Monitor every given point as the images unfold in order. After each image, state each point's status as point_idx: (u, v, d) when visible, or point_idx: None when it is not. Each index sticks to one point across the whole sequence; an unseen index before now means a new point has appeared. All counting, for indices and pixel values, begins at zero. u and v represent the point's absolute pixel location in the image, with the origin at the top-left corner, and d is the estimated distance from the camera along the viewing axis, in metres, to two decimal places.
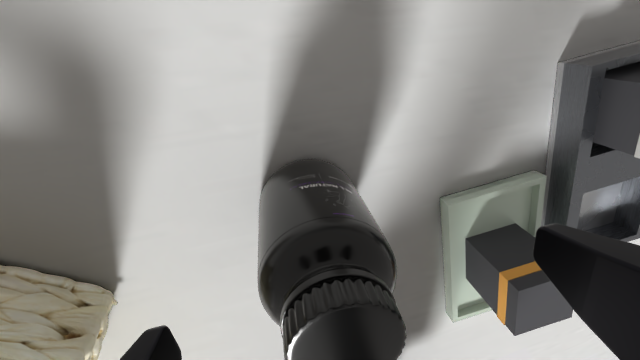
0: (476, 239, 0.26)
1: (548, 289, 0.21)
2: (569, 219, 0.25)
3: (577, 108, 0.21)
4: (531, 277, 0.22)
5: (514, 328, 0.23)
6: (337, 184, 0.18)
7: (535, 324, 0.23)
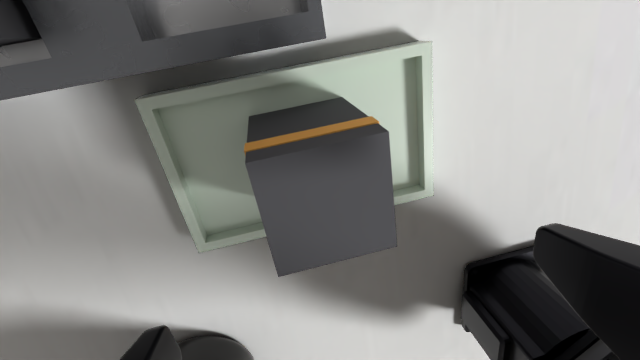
0: None
1: (285, 220, 0.11)
2: (208, 55, 0.12)
3: None
4: None
5: (378, 249, 0.12)
6: None
7: (380, 213, 0.11)
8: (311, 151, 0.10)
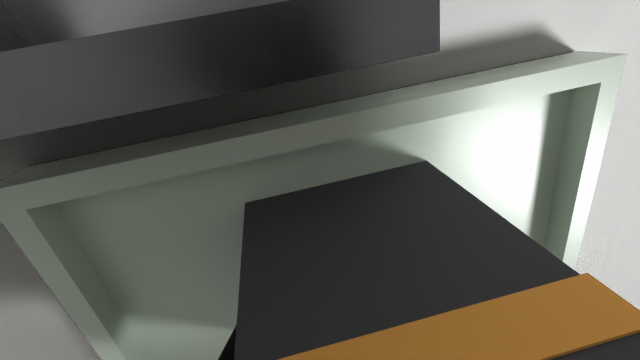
0: None
1: None
2: (131, 99, 0.04)
3: None
4: None
5: None
6: None
7: None
8: None
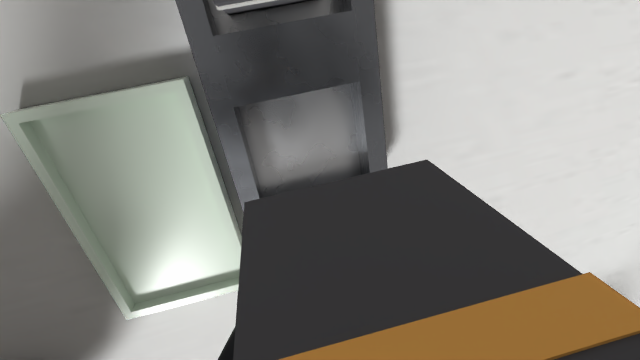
0: None
1: None
2: (228, 153, 0.15)
3: None
4: None
5: None
6: None
7: None
8: None
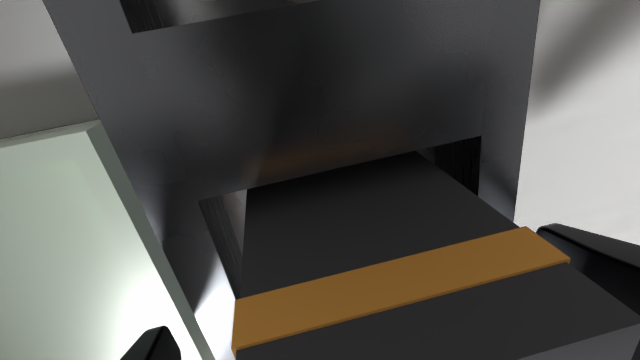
0: None
1: None
2: (190, 289, 0.07)
3: None
4: None
5: None
6: None
7: None
8: None
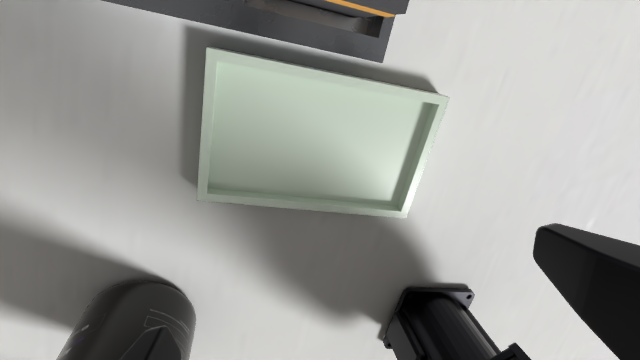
0: (343, 13, 0.15)
1: None
2: (290, 38, 0.14)
3: None
4: (357, 3, 0.11)
5: None
6: (62, 352, 0.17)
7: None
8: None
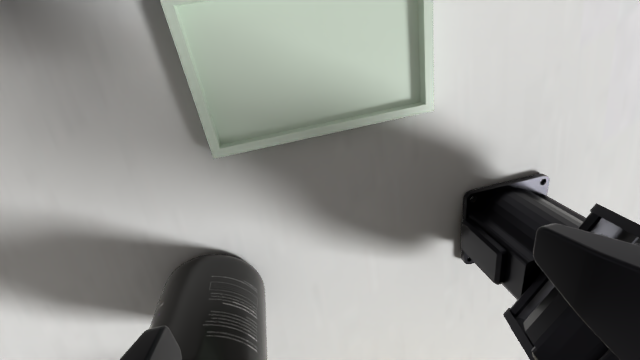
0: None
1: None
2: None
3: None
4: None
5: None
6: None
7: None
8: None
